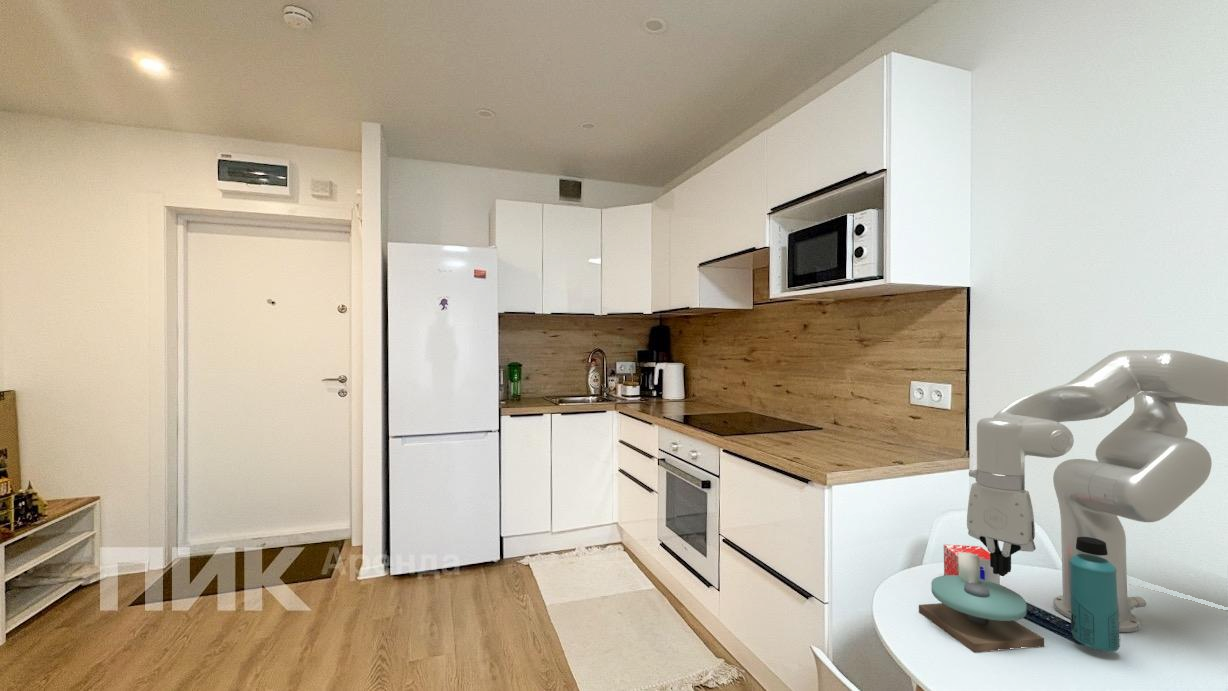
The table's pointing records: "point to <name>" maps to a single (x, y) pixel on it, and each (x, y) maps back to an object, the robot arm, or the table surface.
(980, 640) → the stand
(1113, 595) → the beverage bottle
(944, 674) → the table surface
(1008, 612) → the handwheel
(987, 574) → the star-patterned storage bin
